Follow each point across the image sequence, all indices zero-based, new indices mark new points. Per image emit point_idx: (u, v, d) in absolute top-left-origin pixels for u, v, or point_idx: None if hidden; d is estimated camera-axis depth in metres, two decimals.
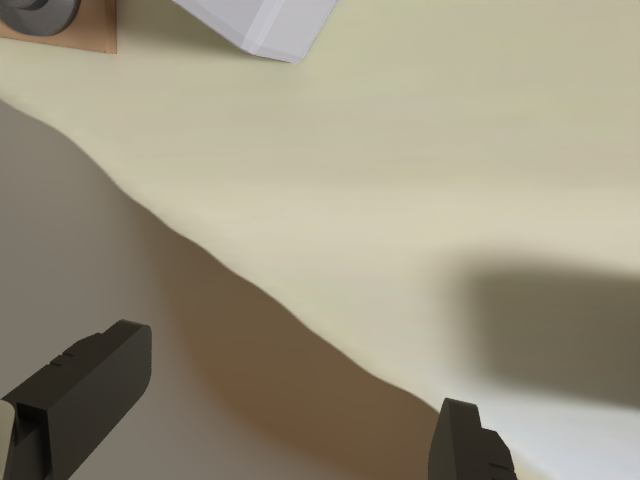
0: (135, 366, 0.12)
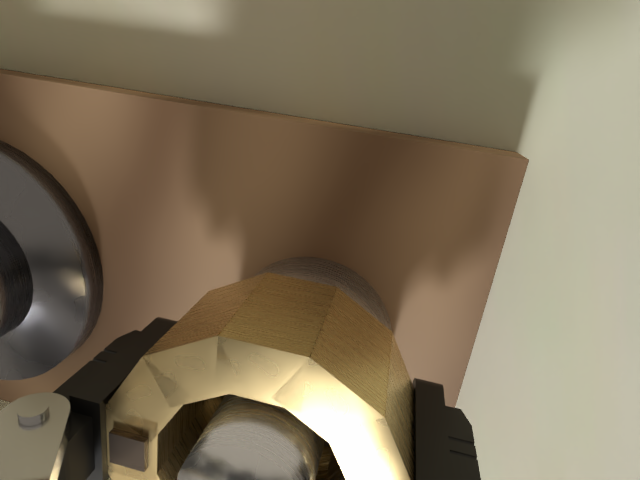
0: None
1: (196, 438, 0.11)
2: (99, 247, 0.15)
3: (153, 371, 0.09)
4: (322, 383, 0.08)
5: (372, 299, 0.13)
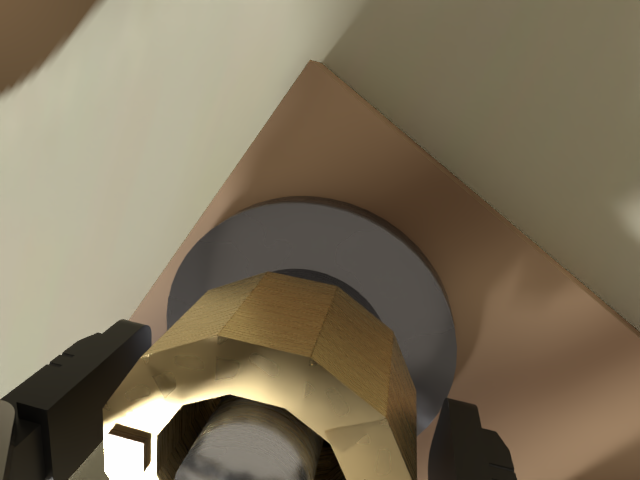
0: None
1: (195, 438, 0.11)
2: None
3: (152, 371, 0.09)
4: (323, 383, 0.08)
5: None
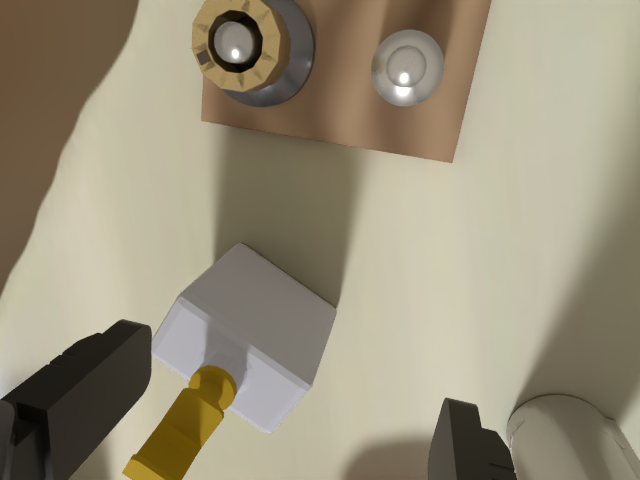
0: (135, 366, 0.12)
1: (226, 66, 0.33)
2: (315, 39, 0.36)
3: (197, 25, 0.31)
4: None
5: None
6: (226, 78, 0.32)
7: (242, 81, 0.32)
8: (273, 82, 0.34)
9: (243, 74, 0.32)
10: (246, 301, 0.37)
